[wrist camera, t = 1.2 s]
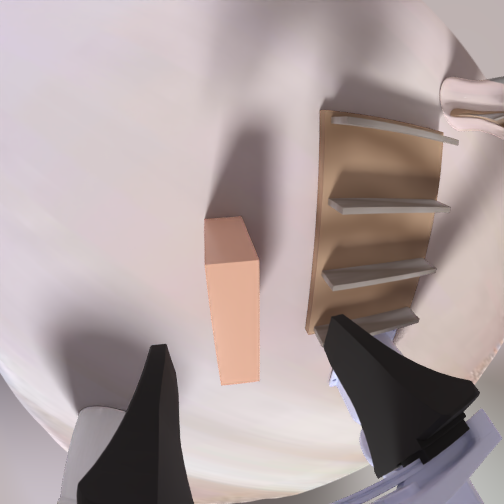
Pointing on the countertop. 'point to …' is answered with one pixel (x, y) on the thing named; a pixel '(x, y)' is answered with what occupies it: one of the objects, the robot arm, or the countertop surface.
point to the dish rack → (372, 220)
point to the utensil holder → (87, 446)
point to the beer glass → (474, 104)
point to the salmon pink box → (233, 298)
